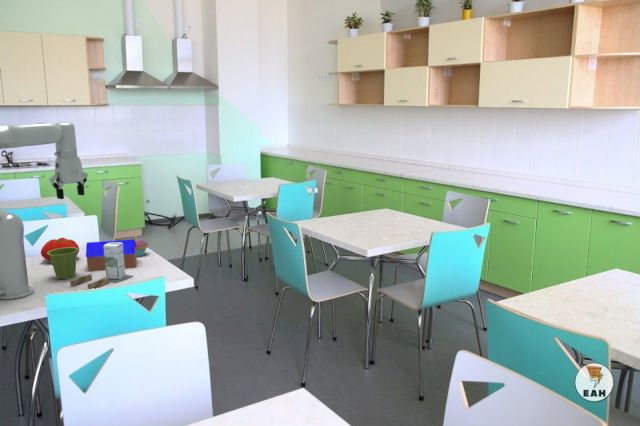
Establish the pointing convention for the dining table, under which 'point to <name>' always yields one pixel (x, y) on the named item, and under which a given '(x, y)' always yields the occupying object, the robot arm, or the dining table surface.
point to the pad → (119, 279)
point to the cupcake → (140, 246)
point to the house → (98, 259)
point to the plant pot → (64, 261)
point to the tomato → (57, 246)
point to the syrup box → (114, 260)
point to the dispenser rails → (89, 278)
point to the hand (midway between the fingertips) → (71, 196)
